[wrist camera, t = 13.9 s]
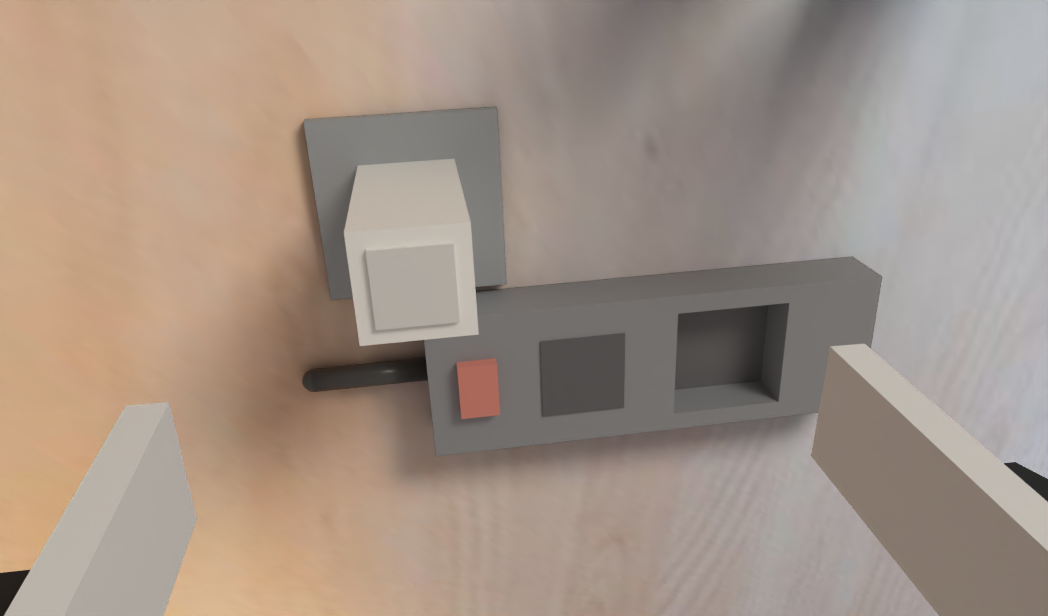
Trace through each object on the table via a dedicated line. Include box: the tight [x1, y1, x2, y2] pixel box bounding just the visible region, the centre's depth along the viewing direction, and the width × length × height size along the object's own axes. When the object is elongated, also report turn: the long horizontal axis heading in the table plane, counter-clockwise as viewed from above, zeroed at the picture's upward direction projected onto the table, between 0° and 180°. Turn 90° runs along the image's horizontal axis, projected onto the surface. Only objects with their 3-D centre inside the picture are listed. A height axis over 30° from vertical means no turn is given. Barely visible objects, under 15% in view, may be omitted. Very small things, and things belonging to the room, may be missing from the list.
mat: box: [303, 107, 507, 300], centre depth 39 cm, size 9×9×1 cm
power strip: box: [302, 257, 882, 456], centre depth 42 cm, size 31×8×4 cm, turn 92°
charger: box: [344, 159, 479, 346], centre depth 34 cm, size 5×5×10 cm
